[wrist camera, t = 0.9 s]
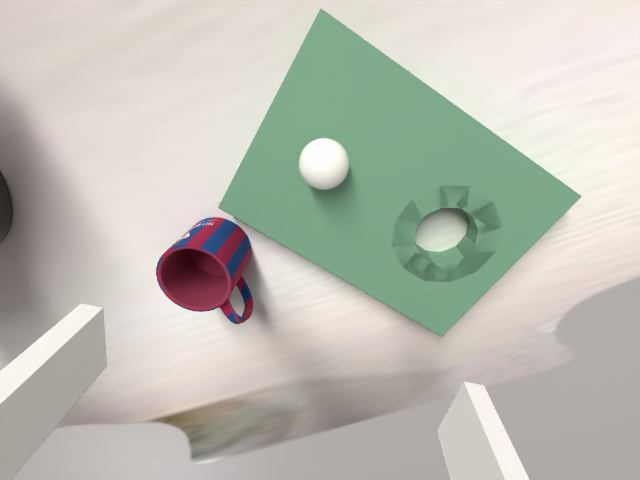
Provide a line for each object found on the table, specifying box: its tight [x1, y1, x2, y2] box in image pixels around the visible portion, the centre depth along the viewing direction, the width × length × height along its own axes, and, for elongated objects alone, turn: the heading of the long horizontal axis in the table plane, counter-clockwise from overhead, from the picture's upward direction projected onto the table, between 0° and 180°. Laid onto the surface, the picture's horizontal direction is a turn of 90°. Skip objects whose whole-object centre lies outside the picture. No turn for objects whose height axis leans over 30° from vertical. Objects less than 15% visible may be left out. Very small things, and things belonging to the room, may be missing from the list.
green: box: [218, 9, 582, 336], centre depth 31 cm, size 26×18×2 cm
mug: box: [156, 217, 253, 324], centre depth 33 cm, size 7×10×7 cm
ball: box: [299, 138, 349, 190], centre depth 27 cm, size 4×4×4 cm
